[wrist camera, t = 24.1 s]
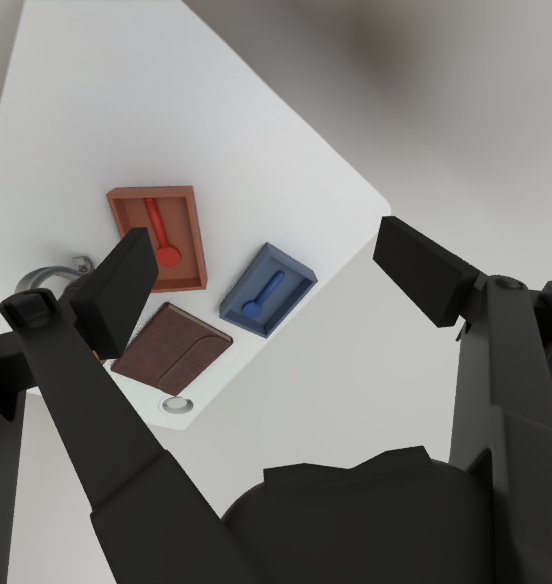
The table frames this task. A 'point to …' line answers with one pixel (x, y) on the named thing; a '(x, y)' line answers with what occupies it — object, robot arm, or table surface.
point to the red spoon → (162, 237)
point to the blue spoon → (261, 297)
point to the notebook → (172, 350)
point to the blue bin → (278, 301)
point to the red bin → (178, 226)
